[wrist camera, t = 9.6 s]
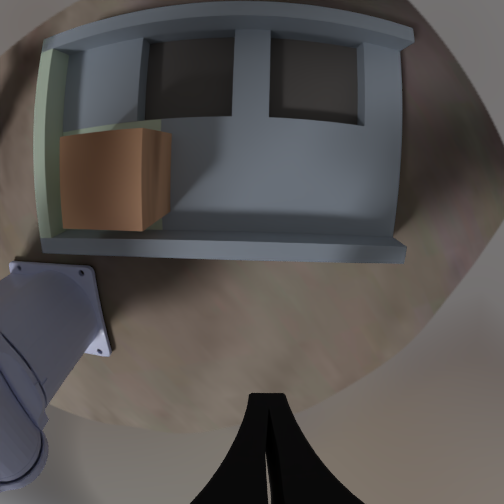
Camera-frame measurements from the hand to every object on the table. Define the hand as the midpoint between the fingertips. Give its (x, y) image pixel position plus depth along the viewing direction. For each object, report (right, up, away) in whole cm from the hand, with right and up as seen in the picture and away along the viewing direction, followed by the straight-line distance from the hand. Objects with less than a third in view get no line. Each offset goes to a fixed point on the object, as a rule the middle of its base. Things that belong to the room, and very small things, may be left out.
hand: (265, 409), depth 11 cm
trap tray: (-3, +14, +6) cm, 15 cm away
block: (-7, +11, +5) cm, 14 cm away
